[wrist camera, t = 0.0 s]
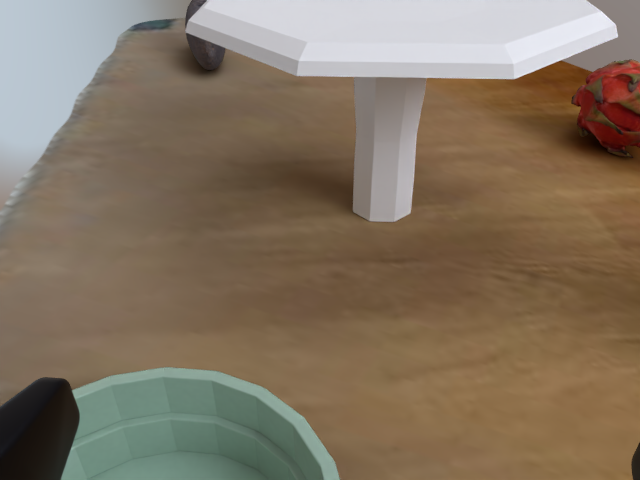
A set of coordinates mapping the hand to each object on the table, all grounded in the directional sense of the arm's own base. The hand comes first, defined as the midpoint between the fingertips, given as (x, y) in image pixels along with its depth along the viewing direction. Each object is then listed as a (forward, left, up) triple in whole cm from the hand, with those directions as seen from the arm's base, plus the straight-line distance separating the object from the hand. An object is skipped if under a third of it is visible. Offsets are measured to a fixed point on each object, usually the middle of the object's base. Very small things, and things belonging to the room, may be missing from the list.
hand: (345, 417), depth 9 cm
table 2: (+36, -1, -18) cm, 40 cm away
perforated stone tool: (+72, +23, -18) cm, 77 cm away
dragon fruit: (+50, -24, -18) cm, 58 cm away
